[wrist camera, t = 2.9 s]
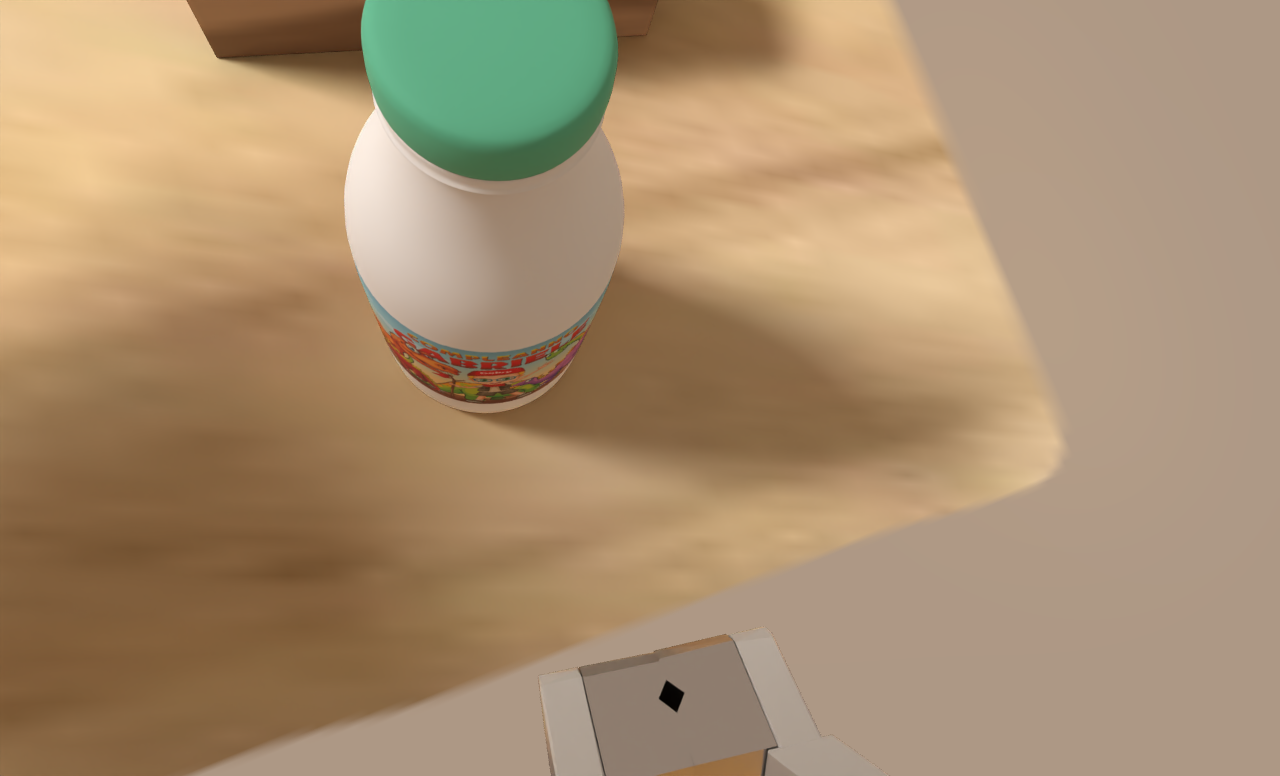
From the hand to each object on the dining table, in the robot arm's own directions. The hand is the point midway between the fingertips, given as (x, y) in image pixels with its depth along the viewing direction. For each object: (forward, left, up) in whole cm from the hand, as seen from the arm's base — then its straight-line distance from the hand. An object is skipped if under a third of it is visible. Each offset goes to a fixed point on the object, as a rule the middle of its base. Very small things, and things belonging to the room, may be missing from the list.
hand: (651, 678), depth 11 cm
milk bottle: (+6, +9, -23) cm, 25 cm away
